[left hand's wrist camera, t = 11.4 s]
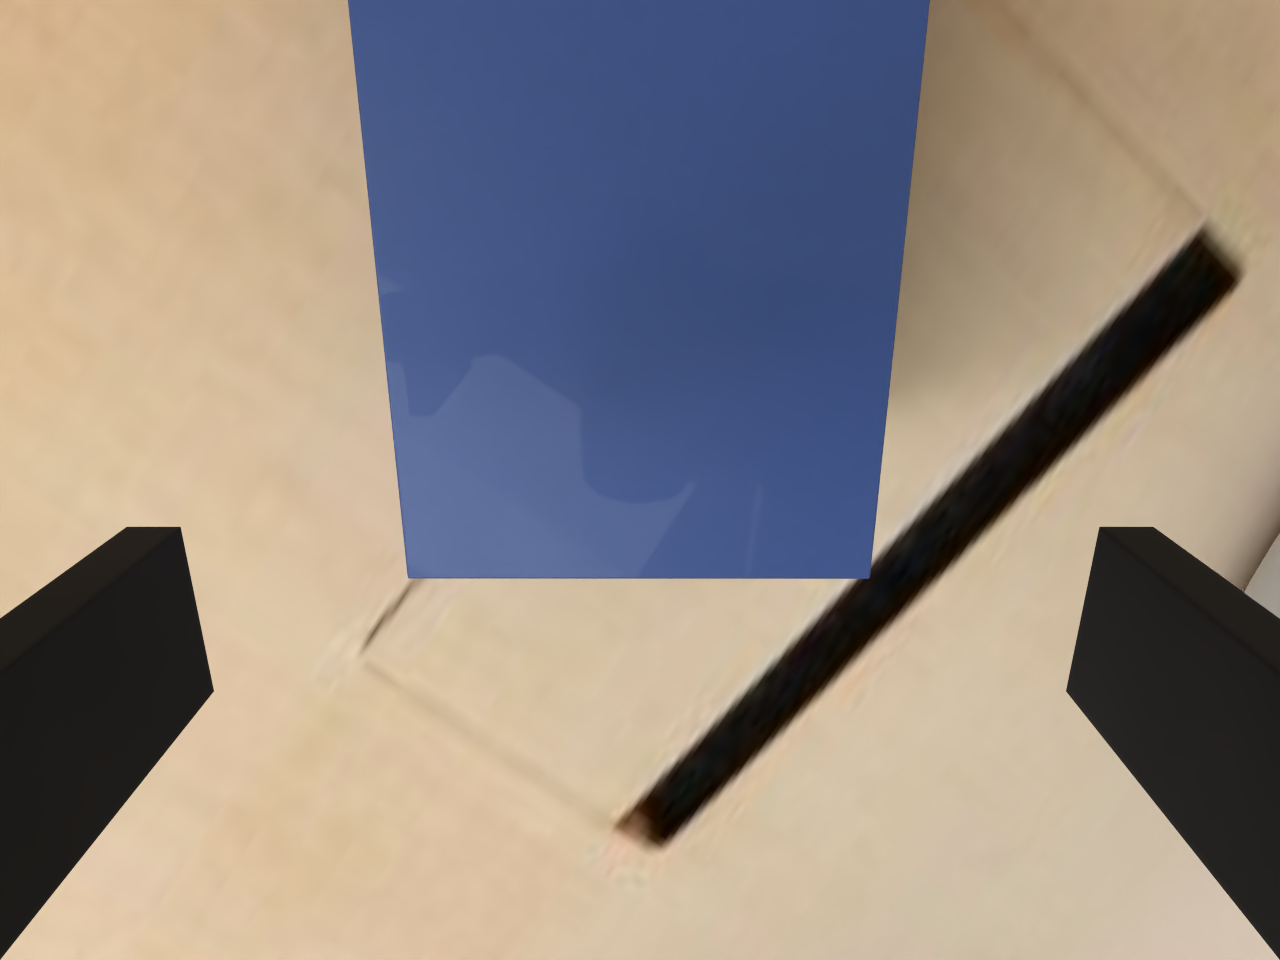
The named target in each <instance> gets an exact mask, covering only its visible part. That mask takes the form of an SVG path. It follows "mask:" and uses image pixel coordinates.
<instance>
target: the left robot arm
mask: <svg viewBox="0 0 1280 960" xmlns="http://www.w3.org/2000/svg"><path fill="white" fill-rule="evenodd" d="M213 692H214V689H213V685H212V680H211V675H210V670H209V665H208V660H207V655H206V650H205V645H204V640H203V635H202V630H201V626H200V621H199V616H198V611H197V606H196V601H195V596H194V591H193V586H192V581H191V576H190V571H189V566H188V562H187V557H186V552H185V547H184V542H183V537H182V532H181V527H126V528H125V529H123V530H122V531H121V532H119V533H118V534H116V535H115V536H114V537H112V538H111V539H110V540H108V541H107V542H105V543H104V544H103V545H101V546H100V547H98V548H97V549H96V550H94V551H93V552H92V553H90V554H89V555H87V556H86V557H85V558H83V559H82V560H80V561H79V562H78V563H76V564H75V565H74V566H72V567H71V568H69V569H68V570H67V571H65V572H64V573H62V574H61V575H60V576H58V577H57V578H56V579H54V580H53V581H51V582H50V583H49V584H47V585H46V586H45V587H43V588H42V589H40V590H39V591H38V592H36V593H35V594H33V595H32V596H31V597H29V598H28V599H27V600H25V601H24V602H22V603H21V604H20V605H18V606H17V607H15V608H14V609H13V610H11V611H10V612H9V613H7V614H6V615H4V616H3V617H2V618H0V959H1V958H2V957H3V955H4V954H5V953H6V952H7V950H8V949H9V948H10V947H11V945H12V944H13V943H14V942H15V940H16V939H17V938H18V937H19V935H20V934H21V933H22V932H23V930H24V929H25V928H26V927H27V925H28V924H29V923H30V922H31V920H32V919H33V918H34V917H35V915H36V914H37V913H38V911H39V910H40V909H41V908H42V906H43V905H44V904H45V903H46V901H47V900H48V899H49V898H50V896H51V895H52V894H53V893H54V891H55V890H56V889H57V888H58V886H59V885H60V884H61V883H62V881H63V880H64V879H65V878H66V876H67V875H68V874H69V873H70V871H71V870H72V869H73V868H74V866H75V865H76V864H77V862H78V861H79V860H80V859H81V857H82V856H83V855H84V854H85V852H86V851H87V850H88V849H89V847H90V846H91V845H92V844H93V842H94V841H95V840H96V839H97V837H98V836H99V835H100V834H101V832H102V831H103V830H104V829H105V827H106V826H107V825H108V824H109V822H110V821H111V820H112V819H113V817H114V816H115V815H116V813H117V812H118V811H119V810H120V808H121V807H122V806H123V805H124V803H125V802H126V801H127V800H128V798H129V797H130V796H131V795H132V793H133V792H134V791H135V790H136V788H137V787H138V786H139V785H140V783H141V782H142V781H143V780H144V778H145V777H146V776H147V775H148V773H149V772H150V771H151V770H152V768H153V767H154V766H155V765H156V763H157V762H158V761H159V759H160V758H161V757H162V756H163V754H164V753H165V752H166V751H167V749H168V748H169V747H170V746H171V744H172V743H173V742H174V741H175V739H176V738H177V737H178V736H179V734H180V733H181V732H182V731H183V729H184V728H185V727H186V726H187V724H188V723H189V722H190V721H191V719H192V718H193V717H194V716H195V714H196V713H197V712H198V710H199V709H200V708H201V707H202V705H203V704H204V703H205V702H206V700H207V699H208V698H209V697H210V695H211V694H212V693H213ZM1066 692H1067V693H1068V694H1069V695H1070V697H1071V698H1072V699H1073V700H1074V702H1075V703H1076V704H1077V705H1078V707H1079V708H1080V709H1081V710H1082V712H1083V713H1084V714H1085V716H1086V717H1087V718H1088V719H1089V721H1090V722H1091V723H1092V724H1093V726H1094V727H1095V728H1096V729H1097V731H1098V732H1099V733H1100V734H1101V736H1102V737H1103V738H1104V739H1105V741H1106V742H1107V743H1108V744H1109V746H1110V747H1111V748H1112V749H1113V751H1114V752H1115V753H1116V754H1117V756H1118V757H1119V758H1120V759H1121V761H1122V762H1123V763H1124V764H1125V766H1126V767H1127V768H1128V770H1129V771H1130V772H1131V773H1132V775H1133V776H1134V777H1135V778H1136V780H1137V781H1138V782H1139V783H1140V785H1141V786H1142V787H1143V788H1144V790H1145V791H1146V792H1147V793H1148V795H1149V796H1150V797H1151V798H1152V800H1153V801H1154V802H1155V803H1156V805H1157V806H1158V807H1159V808H1160V810H1161V811H1162V812H1163V813H1164V815H1165V816H1166V817H1167V819H1168V820H1169V821H1170V822H1171V824H1172V825H1173V826H1174V827H1175V829H1176V830H1177V831H1178V832H1179V834H1180V835H1181V836H1182V837H1183V839H1184V840H1185V841H1186V842H1187V844H1188V845H1189V846H1190V847H1191V849H1192V850H1193V851H1194V852H1195V854H1196V855H1197V856H1198V857H1199V859H1200V860H1201V861H1202V862H1203V864H1204V865H1205V866H1206V868H1207V869H1208V870H1209V871H1210V873H1211V874H1212V875H1213V876H1214V878H1215V879H1216V880H1217V881H1218V883H1219V884H1220V885H1221V886H1222V888H1223V889H1224V890H1225V891H1226V893H1227V894H1228V895H1229V896H1230V898H1231V899H1232V900H1233V901H1234V903H1235V904H1236V905H1237V906H1238V908H1239V909H1240V910H1241V911H1242V913H1243V914H1244V915H1245V917H1246V918H1247V919H1248V920H1249V922H1250V923H1251V924H1252V925H1253V927H1254V928H1255V929H1256V930H1257V932H1258V933H1259V934H1260V935H1261V937H1262V938H1263V939H1264V940H1265V942H1266V943H1267V944H1268V945H1269V947H1270V948H1271V949H1272V950H1273V952H1274V953H1275V954H1276V955H1277V957H1278V958H1279V959H1280V618H1278V617H1277V616H1276V615H1274V614H1273V613H1271V612H1270V611H1269V610H1267V609H1266V608H1265V607H1263V606H1262V605H1260V604H1259V603H1258V602H1256V601H1255V600H1253V599H1252V598H1251V597H1249V596H1248V595H1247V594H1245V593H1244V592H1242V591H1241V590H1240V589H1238V588H1237V587H1235V586H1234V585H1233V584H1231V583H1230V582H1229V581H1227V580H1226V579H1224V578H1223V577H1222V576H1220V575H1219V574H1218V573H1216V572H1215V571H1213V570H1212V569H1211V568H1209V567H1208V566H1206V565H1205V564H1204V563H1202V562H1201V561H1200V560H1198V559H1197V558H1195V557H1194V556H1193V555H1191V554H1190V553H1188V552H1187V551H1186V550H1184V549H1183V548H1182V547H1180V546H1179V545H1177V544H1176V543H1175V542H1173V541H1172V540H1170V539H1169V538H1168V537H1166V536H1165V535H1164V534H1162V533H1161V532H1159V531H1158V530H1157V529H1155V528H1154V527H1099V532H1098V537H1097V542H1096V547H1095V552H1094V557H1093V562H1092V566H1091V571H1090V576H1089V581H1088V586H1087V591H1086V596H1085V601H1084V606H1083V611H1082V616H1081V621H1080V626H1079V630H1078V635H1077V640H1076V645H1075V650H1074V655H1073V660H1072V665H1071V670H1070V675H1069V680H1068V685H1067V689H1066Z"/></svg>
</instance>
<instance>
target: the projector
mask: <svg viewBox="0 0 1280 960" xmlns="http://www.w3.org/2000/svg"><path fill="white" fill-rule="evenodd" d="M1244 593H1245V594H1247V595H1248V596H1249V597H1251V598H1252V599H1253V600H1255V601H1256V602H1258V603H1259V604H1260V605H1262V606H1263V607H1265V608H1266V609H1267V610H1269V611H1270V612H1271V613H1273V614H1274V615H1276V616H1277V617H1278V618H1280V533H1279V535H1278V536H1277V538H1276V539H1275V541H1274V542H1273V544H1272V546H1271V547H1270V549H1269V550H1268V552H1267V554H1266V555H1265V557H1264V559H1263V560H1262V562H1261V564H1260V565H1259V567H1258V569H1257V570H1256V572H1255V574H1254V575H1253V577H1252V579H1251V580H1250V582H1249V584H1248V586H1247V588H1246V589H1245V591H1244Z"/></svg>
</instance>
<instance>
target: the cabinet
mask: <svg viewBox="0 0 1280 960" xmlns="http://www.w3.org/2000/svg"><path fill="white" fill-rule="evenodd" d="M929 3H930V0H348V5H349V15H350V25H351V34H352V44H353V54H354V63H355V73H356V82H357V92H358V102H359V111H360V121H361V131H362V140H363V150H364V159H365V169H366V179H367V188H368V198H369V208H370V217H371V227H372V236H373V246H374V256H375V265H376V275H377V285H378V294H379V304H380V314H381V323H382V333H383V342H384V352H385V362H386V371H387V381H388V391H389V400H390V410H391V419H392V429H393V439H394V448H395V458H396V468H397V477H398V487H399V496H400V506H401V516H402V525H403V535H404V545H405V554H406V564H407V574H408V578H792V579H868V578H869V577H870V569H871V560H872V550H873V541H874V531H875V521H876V512H877V502H878V493H879V483H880V473H881V464H882V454H883V445H884V435H885V425H886V416H887V406H888V397H889V387H890V377H891V368H892V358H893V349H894V339H895V329H896V320H897V310H898V301H899V291H900V281H901V272H902V262H903V252H904V243H905V233H906V224H907V214H908V204H909V195H910V185H911V176H912V166H913V156H914V147H915V137H916V128H917V118H918V108H919V99H920V89H921V80H922V70H923V60H924V51H925V41H926V32H927V22H928V12H929Z"/></svg>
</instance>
